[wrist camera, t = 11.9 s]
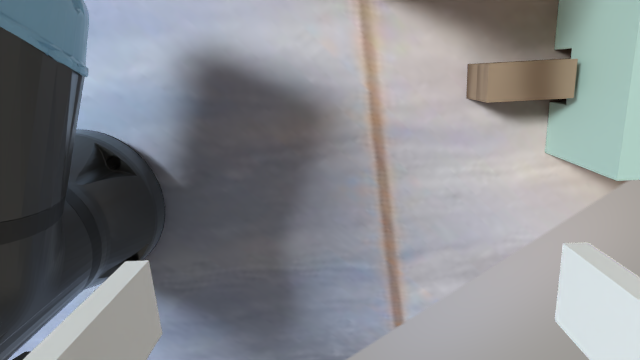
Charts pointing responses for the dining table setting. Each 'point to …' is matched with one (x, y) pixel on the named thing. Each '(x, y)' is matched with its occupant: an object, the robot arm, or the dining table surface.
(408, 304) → the dining table surface
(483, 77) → the slotted rail
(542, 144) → the dining table surface
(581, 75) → the plate
